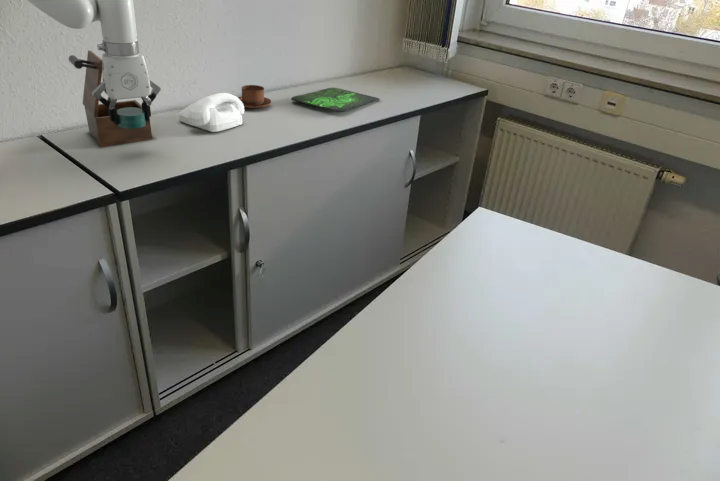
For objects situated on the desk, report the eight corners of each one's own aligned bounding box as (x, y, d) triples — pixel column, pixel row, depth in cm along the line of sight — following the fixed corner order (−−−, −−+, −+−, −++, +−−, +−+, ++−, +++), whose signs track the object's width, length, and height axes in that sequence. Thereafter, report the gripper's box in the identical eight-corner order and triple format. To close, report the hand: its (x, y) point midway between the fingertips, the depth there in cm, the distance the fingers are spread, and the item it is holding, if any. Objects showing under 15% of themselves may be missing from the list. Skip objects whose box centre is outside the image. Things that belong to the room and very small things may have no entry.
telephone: (253, 121, 169) (252, 91, 165) (205, 136, 154) (203, 103, 149) (216, 110, 176) (215, 81, 171) (167, 123, 161) (164, 92, 156)
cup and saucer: (227, 104, 181) (226, 85, 178) (256, 99, 189) (255, 81, 186) (249, 113, 174) (249, 94, 171) (278, 107, 183) (278, 89, 180)
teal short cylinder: (113, 127, 134) (111, 114, 132) (122, 118, 140) (120, 106, 138) (141, 129, 134) (139, 116, 133) (149, 120, 140) (148, 108, 138)
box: (139, 126, 159) (135, 99, 155) (152, 138, 151) (148, 111, 147) (89, 133, 151) (84, 105, 147) (101, 147, 144) (95, 118, 140)
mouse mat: (332, 88, 208) (332, 85, 207) (382, 99, 198) (382, 97, 198) (288, 100, 187) (288, 97, 186) (341, 114, 178) (341, 111, 177)
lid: (91, 50, 142) (66, 46, 139) (103, 61, 135) (78, 56, 131) (85, 104, 147) (61, 101, 144) (97, 117, 140) (72, 114, 136)
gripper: (86, 54, 120) (98, 130, 129) (164, 50, 130) (170, 121, 139) (77, 46, 125) (90, 121, 134) (153, 43, 135) (160, 113, 144)
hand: (131, 120), depth 137 cm, fingers closed on teal short cylinder, 6 cm apart
